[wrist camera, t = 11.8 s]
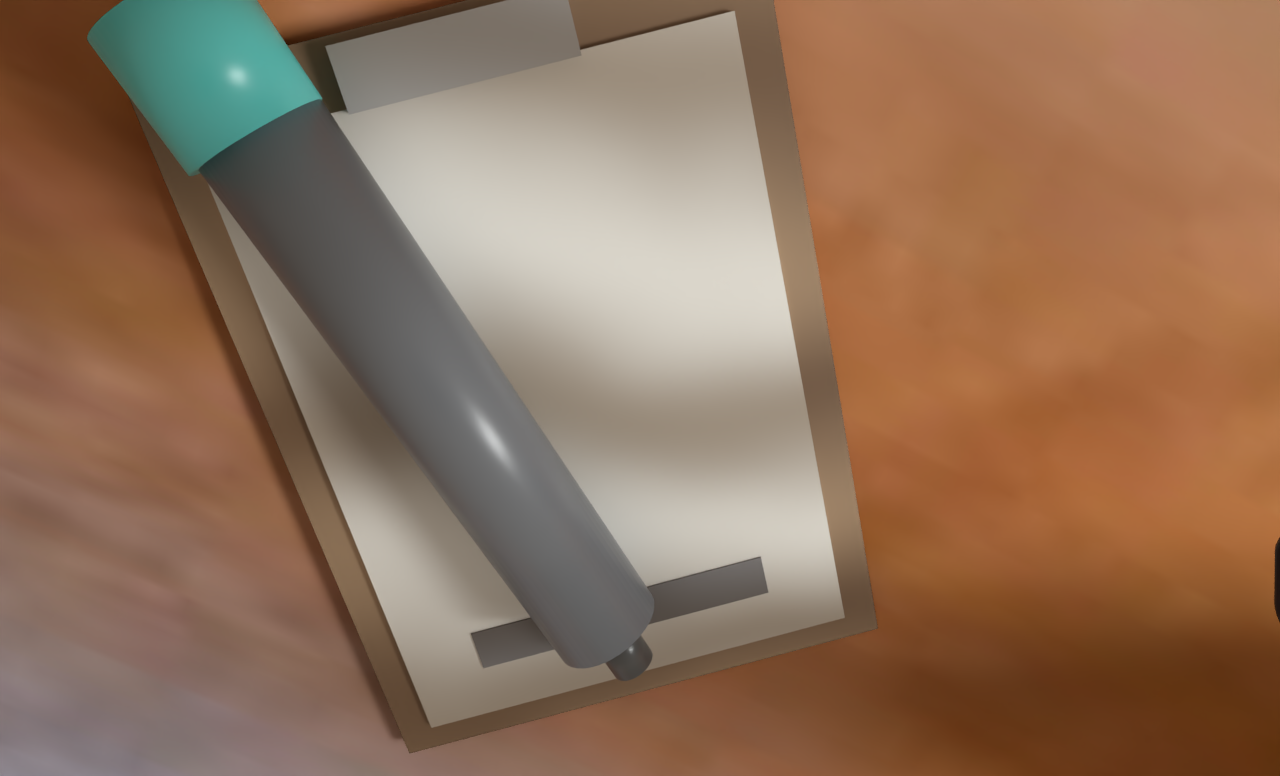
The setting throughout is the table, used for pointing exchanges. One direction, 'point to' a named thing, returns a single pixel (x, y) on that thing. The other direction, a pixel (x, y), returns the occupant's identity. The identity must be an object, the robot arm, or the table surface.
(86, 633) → the table surface
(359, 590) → the clipboard
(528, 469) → the marker
